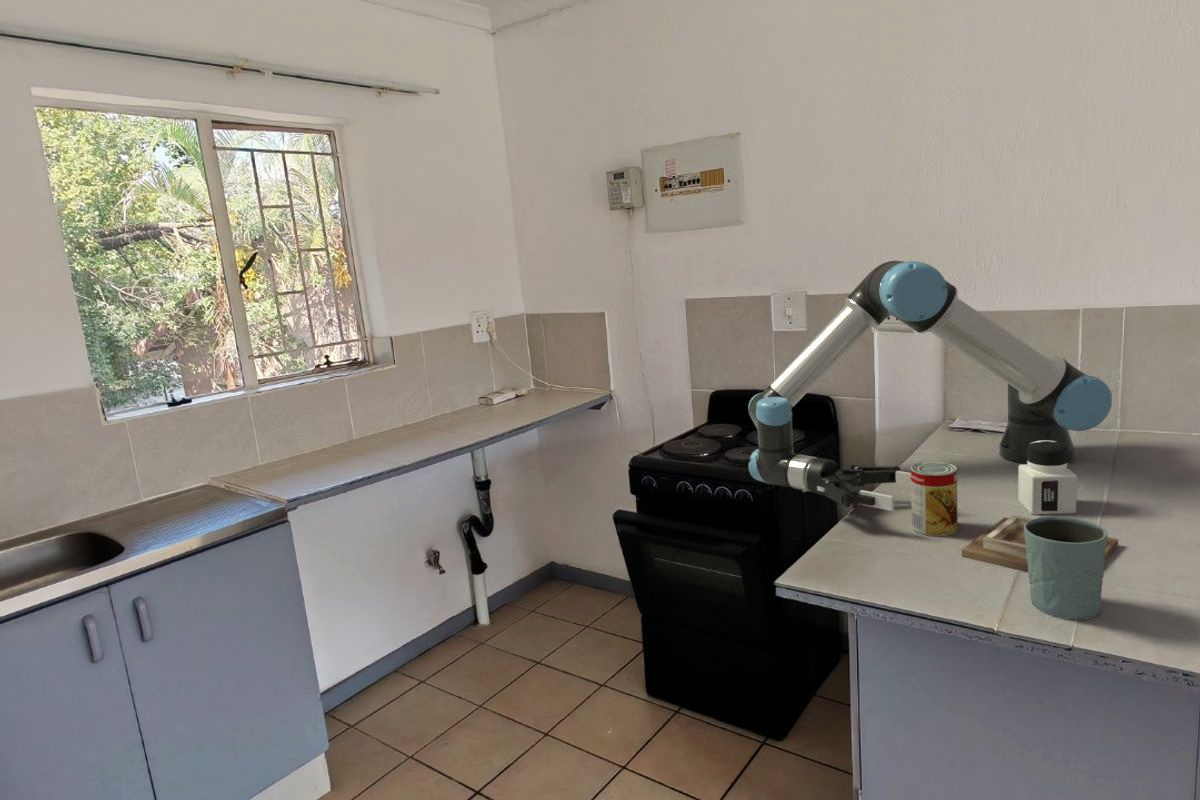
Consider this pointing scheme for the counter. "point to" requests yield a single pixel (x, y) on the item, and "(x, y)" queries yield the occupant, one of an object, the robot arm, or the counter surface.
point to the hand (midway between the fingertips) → (911, 493)
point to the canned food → (934, 498)
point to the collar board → (1009, 544)
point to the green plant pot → (1065, 565)
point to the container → (1047, 480)
